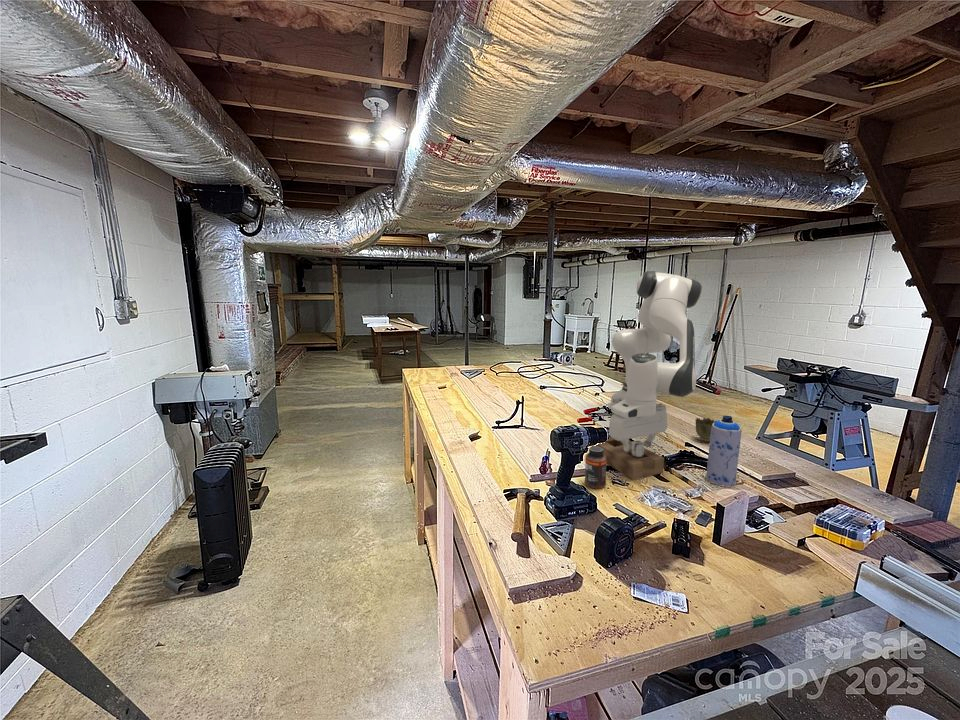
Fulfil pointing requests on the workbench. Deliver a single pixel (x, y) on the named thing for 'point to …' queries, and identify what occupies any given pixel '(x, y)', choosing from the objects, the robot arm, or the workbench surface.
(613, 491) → the workbench surface
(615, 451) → the socket block
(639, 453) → the peg
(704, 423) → the cup
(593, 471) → the supplement bottle
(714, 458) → the aerosol can
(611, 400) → the robot arm
